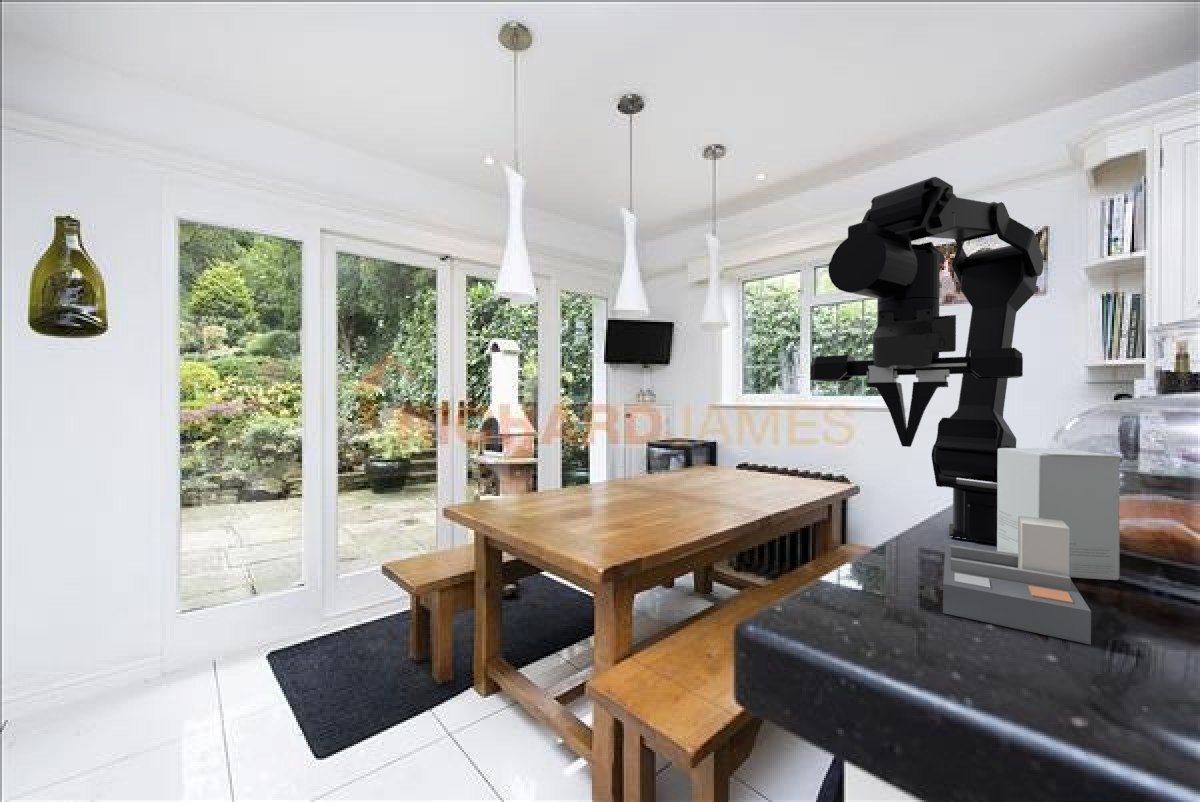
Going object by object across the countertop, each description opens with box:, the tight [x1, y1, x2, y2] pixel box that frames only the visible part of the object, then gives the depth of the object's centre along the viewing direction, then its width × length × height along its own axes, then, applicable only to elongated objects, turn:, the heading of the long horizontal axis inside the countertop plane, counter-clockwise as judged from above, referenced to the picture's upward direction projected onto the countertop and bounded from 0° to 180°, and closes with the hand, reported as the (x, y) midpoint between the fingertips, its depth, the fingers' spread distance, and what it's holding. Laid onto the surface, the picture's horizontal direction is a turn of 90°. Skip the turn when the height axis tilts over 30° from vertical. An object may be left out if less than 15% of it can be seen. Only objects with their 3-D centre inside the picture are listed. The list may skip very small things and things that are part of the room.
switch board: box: [942, 543, 1092, 646], centre depth 45 cm, size 14×9×4 cm, turn 144°
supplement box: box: [996, 447, 1121, 581], centre depth 53 cm, size 7×7×13 cm
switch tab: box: [1018, 516, 1070, 576], centre depth 43 cm, size 3×3×5 cm
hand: (906, 446), depth 53 cm, fingers closed
